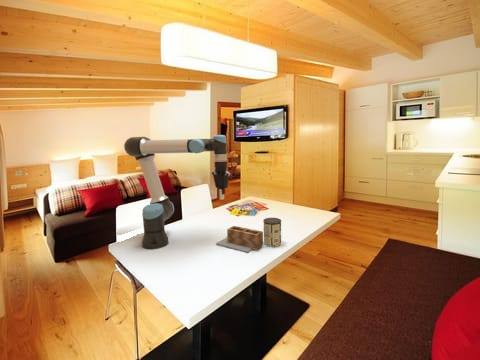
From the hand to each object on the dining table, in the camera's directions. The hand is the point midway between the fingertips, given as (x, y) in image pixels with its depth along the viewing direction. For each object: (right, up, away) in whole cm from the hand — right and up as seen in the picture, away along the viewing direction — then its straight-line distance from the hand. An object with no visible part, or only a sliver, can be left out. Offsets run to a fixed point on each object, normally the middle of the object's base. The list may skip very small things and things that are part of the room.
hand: (222, 199), depth 165 cm
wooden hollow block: (+14, -25, -10) cm, 30 cm away
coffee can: (+30, -25, -8) cm, 40 cm away
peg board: (+11, -26, -8) cm, 29 cm away
